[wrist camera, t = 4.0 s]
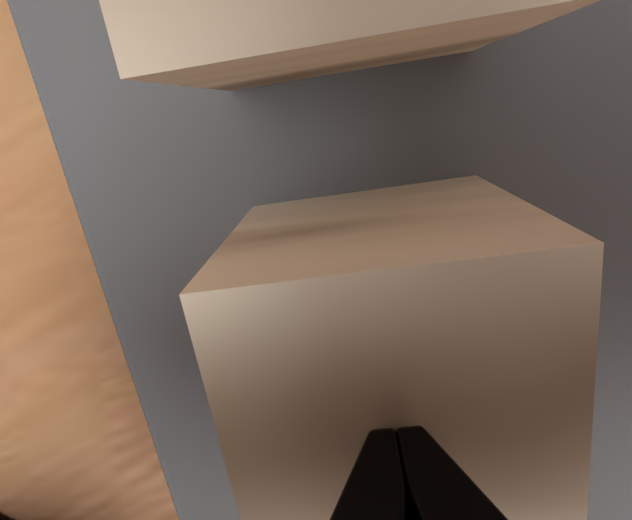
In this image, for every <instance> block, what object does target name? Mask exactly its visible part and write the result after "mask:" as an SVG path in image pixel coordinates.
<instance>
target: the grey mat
mask: <svg viewBox="0 0 632 520" xmlns="http://www.w3.org/2000/svg"><path fill="white" fill-rule="evenodd" d="M7 2H8V5H9V8H10V11H11V14H12V17H13V20H14V23H15V26H16V29H17V32H18V35H19V38H20V41H21V44H22V47H23V50H24V53H25V56H26V59H27V62H28V65H29V68H30V71H31V74H32V77H33V80H34V83H35V86H36V89H37V92H38V95H39V98H40V101H41V104H42V107H43V110H44V113H45V116H46V119H47V122H48V125H49V128H50V131H51V134H52V138H53V141H54V144H55V147H56V150H57V153H58V156H59V159H60V162H61V165H62V168H63V171H64V174H65V177H66V180H67V183H68V186H69V189H70V192H71V195H72V198H73V201H74V204H75V207H76V210H77V213H78V216H79V219H80V222H81V225H82V228H83V231H84V234H85V237H86V240H87V243H88V246H89V249H90V252H91V255H92V258H93V261H94V264H95V267H96V270H97V273H98V276H99V279H100V282H101V285H102V288H103V291H104V294H105V297H106V300H107V303H108V306H109V309H110V312H111V315H112V318H113V321H114V324H115V327H116V330H117V333H118V336H119V339H120V342H121V345H122V348H123V351H124V354H125V357H126V360H127V364H128V367H129V370H130V373H131V376H132V379H133V382H134V385H135V388H136V391H137V394H138V397H139V400H140V403H141V406H142V409H143V412H144V415H145V418H146V421H147V424H148V427H149V430H150V433H151V436H152V439H153V442H154V445H155V448H156V451H157V454H158V457H159V460H160V463H161V466H162V469H163V472H164V475H165V478H166V481H167V484H168V487H169V490H170V493H171V496H172V499H173V502H174V505H175V508H176V511H177V514H178V517H179V520H240V516H239V513H238V509H237V505H236V502H235V498H234V494H233V491H232V487H231V483H230V480H229V476H228V472H227V469H226V465H225V461H224V458H223V454H222V450H221V447H220V443H219V439H218V436H217V432H216V428H215V425H214V421H213V417H212V414H211V410H210V406H209V403H208V399H207V395H206V392H205V388H204V384H203V380H202V377H201V373H200V369H199V366H198V362H197V358H196V355H195V351H194V347H193V344H192V340H191V336H190V333H189V329H188V325H187V322H186V318H185V314H184V311H183V307H182V303H181V300H180V296H179V294H180V293H181V292H182V290H183V289H184V288H185V287H186V286H187V284H188V283H189V282H190V281H191V280H192V278H193V277H194V276H195V275H196V274H197V273H198V271H199V270H200V269H201V268H202V267H203V265H204V264H205V263H206V262H207V261H208V259H209V258H210V257H211V256H212V255H213V254H214V252H215V251H216V250H217V249H218V248H219V246H220V245H221V244H222V243H223V242H224V240H225V239H226V238H227V237H228V236H229V234H230V233H231V232H232V231H233V230H234V229H235V227H236V226H237V225H238V224H239V223H240V221H241V220H242V219H243V218H244V217H245V215H246V214H247V213H248V212H249V211H250V210H251V208H252V207H253V206H258V205H265V204H273V203H280V202H287V201H294V200H301V199H308V198H316V197H323V196H330V195H337V194H344V193H351V192H359V191H366V190H373V189H380V188H387V187H394V186H402V185H409V184H416V183H423V182H430V181H437V180H445V179H452V178H459V177H466V176H473V175H477V176H479V177H481V178H483V179H484V180H486V181H488V182H490V183H492V184H494V185H496V186H498V187H500V188H501V189H503V190H505V191H507V192H509V193H511V194H513V195H515V196H517V197H518V198H520V199H522V200H524V201H526V202H528V203H530V204H532V205H534V206H536V207H537V208H539V209H541V210H543V211H545V212H547V213H549V214H551V215H553V216H554V217H556V218H558V219H560V220H562V221H564V222H566V223H568V224H570V225H571V226H573V227H575V228H577V229H579V230H581V231H583V232H585V233H587V234H589V235H590V236H592V237H594V238H596V239H598V240H600V241H602V242H604V252H603V268H602V284H601V300H600V316H599V332H598V348H597V364H596V380H595V396H594V412H593V428H592V444H591V460H590V476H589V492H588V508H587V520H632V0H600V1H598V2H595V3H593V4H590V5H588V6H585V7H582V8H580V9H577V10H575V11H572V12H570V13H567V14H565V15H562V16H560V17H557V18H555V19H552V20H549V21H547V22H544V23H542V24H539V25H537V26H534V27H532V28H529V29H527V30H524V31H522V32H519V33H517V34H514V35H511V36H509V37H506V38H504V39H501V40H499V41H496V42H494V43H491V44H489V45H486V46H484V47H481V48H479V49H476V50H473V51H469V52H463V53H457V54H451V55H445V56H439V57H433V58H427V59H421V60H415V61H409V62H403V63H397V64H391V65H385V66H379V67H373V68H367V69H361V70H355V71H349V72H343V73H337V74H331V75H325V76H319V77H313V78H307V79H301V80H295V81H289V82H283V83H277V84H271V85H265V86H259V87H253V88H247V89H241V90H235V91H224V90H214V89H205V88H196V87H187V86H178V85H169V84H159V83H150V82H141V81H132V80H123V79H120V76H119V72H118V69H117V65H116V61H115V58H114V54H113V50H112V47H111V43H110V39H109V36H108V32H107V28H106V25H105V21H104V17H103V14H102V10H101V6H100V3H99V0H7Z"/></svg>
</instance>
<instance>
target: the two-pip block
mask: <svg viewBox="0 0 632 520" xmlns="http://www.w3.org/2000/svg"><path fill="white" fill-rule="evenodd" d="M598 1H600V0H99V3H100V6H101V10H102V14H103V17H104V21H105V25H106V28H107V32H108V36H109V39H110V43H111V47H112V50H113V54H114V58H115V61H116V65H117V69H118V72H119V76H120V79H123V80H132V81H141V82H150V83H159V84H169V85H178V86H187V87H196V88H205V89H214V90H224V91H235V90H241V89H247V88H253V87H259V86H265V85H271V84H277V83H283V82H289V81H295V80H301V79H307V78H313V77H319V76H325V75H331V74H337V73H343V72H349V71H355V70H361V69H367V68H373V67H379V66H385V65H391V64H397V63H403V62H409V61H415V60H421V59H427V58H433V57H439V56H445V55H451V54H457V53H463V52H469V51H473V50H476V49H479V48H481V47H484V46H486V45H489V44H491V43H494V42H496V41H499V40H501V39H504V38H506V37H509V36H511V35H514V34H517V33H519V32H522V31H524V30H527V29H529V28H532V27H534V26H537V25H539V24H542V23H544V22H547V21H549V20H552V19H555V18H557V17H560V16H562V15H565V14H567V13H570V12H572V11H575V10H577V9H580V8H582V7H585V6H588V5H590V4H593V3H595V2H598Z"/></svg>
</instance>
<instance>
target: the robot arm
mask: <svg viewBox="0 0 632 520" xmlns="http://www.w3.org/2000/svg"><path fill="white" fill-rule="evenodd" d="M0 520H1V519H0ZM330 520H508V519H507V518H506V517H505V516H504V514H503V513H502V512H501V511H500V510H499V509H498V508H497V507H496V506H495V505H494V504H493V502H492V501H491V500H490V499H489V498H488V497H487V496H486V495H485V494H484V493H483V492H482V490H481V489H480V488H479V487H478V486H477V485H476V484H475V483H474V482H473V481H472V480H471V478H470V477H469V476H468V475H467V474H466V473H465V472H464V471H463V470H462V469H461V468H460V466H459V465H458V464H457V463H456V462H455V461H454V460H453V459H452V458H451V457H450V456H449V454H448V453H447V452H446V451H445V450H444V449H443V448H442V447H441V446H440V445H439V444H438V442H437V441H436V440H435V439H434V438H433V437H432V436H431V435H430V434H429V433H428V432H427V430H426V429H425V428H424V427H422V426H419V425H417V426H406V427H399V428H398V429H397V431H395V430H394V429H393V428H383V429H373V430H371V431H369V433H368V435H367V437H366V439H365V441H364V443H363V446H362V448H361V450H360V452H359V455H358V457H357V459H356V461H355V464H354V466H353V468H352V470H351V473H350V475H349V477H348V479H347V482H346V484H345V486H344V488H343V491H342V493H341V495H340V497H339V500H338V502H337V504H336V506H335V509H334V511H333V513H332V515H331V518H330Z"/></svg>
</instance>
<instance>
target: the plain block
mask: <svg viewBox="0 0 632 520" xmlns="http://www.w3.org/2000/svg"><path fill="white" fill-rule="evenodd" d="M603 252H604V242H602V241H600V240H598V239H596V238H594V237H592V236H590V235H589V234H587V233H585V232H583V231H581V230H579V229H577V228H575V227H573V226H571V225H570V224H568V223H566V222H564V221H562V220H560V219H558V218H556V217H554V216H553V215H551V214H549V213H547V212H545V211H543V210H541V209H539V208H537V207H536V206H534V205H532V204H530V203H528V202H526V201H524V200H522V199H520V198H518V197H517V196H515V195H513V194H511V193H509V192H507V191H505V190H503V189H501V188H500V187H498V186H496V185H494V184H492V183H490V182H488V181H486V180H484V179H483V178H481V177H479V176H477V175H473V176H466V177H459V178H452V179H445V180H437V181H430V182H423V183H416V184H409V185H402V186H394V187H387V188H380V189H373V190H366V191H359V192H351V193H344V194H337V195H330V196H323V197H316V198H308V199H301V200H294V201H287V202H280V203H273V204H265V205H258V206H253V207H252V208H251V210H250V211H249V212H248V213H247V214H246V215H245V217H244V218H243V219H242V220H241V221H240V223H239V224H238V225H237V226H236V227H235V229H234V230H233V231H232V232H231V233H230V234H229V236H228V237H227V238H226V239H225V240H224V242H223V243H222V244H221V245H220V246H219V248H218V249H217V250H216V251H215V252H214V254H213V255H212V256H211V257H210V258H209V259H208V261H207V262H206V263H205V264H204V265H203V267H202V268H201V269H200V270H199V271H198V273H197V274H196V275H195V276H194V277H193V278H192V280H191V281H190V282H189V283H188V284H187V286H186V287H185V288H184V289H183V290H182V292H181V293H180V294H179V296H180V300H181V303H182V307H183V311H184V314H185V318H186V322H187V325H188V329H189V333H190V336H191V340H192V344H193V347H194V351H195V355H196V358H197V362H198V366H199V369H200V373H201V377H202V380H203V384H204V388H205V392H206V395H207V399H208V403H209V406H210V410H211V414H212V417H213V421H214V425H215V428H216V432H217V436H218V439H219V443H220V447H221V450H222V454H223V458H224V461H225V465H226V469H227V472H228V476H229V480H230V483H231V487H232V491H233V494H234V498H235V502H236V505H237V509H238V513H239V516H240V520H330V518H331V515H332V513H333V511H334V509H335V506H336V504H337V502H338V500H339V497H340V495H341V493H342V491H343V488H344V486H345V484H346V482H347V479H348V477H349V475H350V473H351V470H352V468H353V466H354V464H355V461H356V459H357V457H358V455H359V452H360V450H361V448H362V446H363V443H364V441H365V439H366V437H367V435H368V433H369V431H371V430H373V429H383V428H393V429H394V430H395V431H397V429H398V428H399V427H406V426H417V425H419V426H422V427H424V428H425V429H426V430H427V432H428V433H429V434H430V435H431V436H432V437H433V438H434V439H435V440H436V441H437V442H438V444H439V445H440V446H441V447H442V448H443V449H444V450H445V451H446V452H447V453H448V454H449V456H450V457H451V458H452V459H453V460H454V461H455V462H456V463H457V464H458V465H459V466H460V468H461V469H462V470H463V471H464V472H465V473H466V474H467V475H468V476H469V477H470V478H471V480H472V481H473V482H474V483H475V484H476V485H477V486H478V487H479V488H480V489H481V490H482V492H483V493H484V494H485V495H486V496H487V497H488V498H489V499H490V500H491V501H492V502H493V504H494V505H495V506H496V507H497V508H498V509H499V510H500V511H501V512H502V513H503V514H504V516H505V517H506V518H507V519H508V520H587V508H588V492H589V476H590V460H591V444H592V428H593V412H594V396H595V380H596V364H597V348H598V332H599V316H600V300H601V284H602V268H603Z"/></svg>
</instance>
